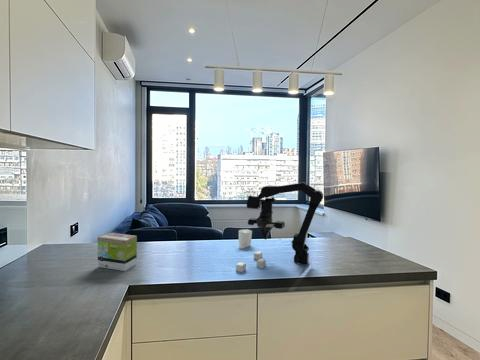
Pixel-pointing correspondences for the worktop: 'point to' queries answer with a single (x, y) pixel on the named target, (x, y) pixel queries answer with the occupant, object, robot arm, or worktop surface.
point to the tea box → (117, 251)
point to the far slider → (257, 255)
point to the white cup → (244, 238)
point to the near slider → (240, 267)
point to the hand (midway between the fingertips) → (265, 239)
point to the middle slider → (261, 263)
